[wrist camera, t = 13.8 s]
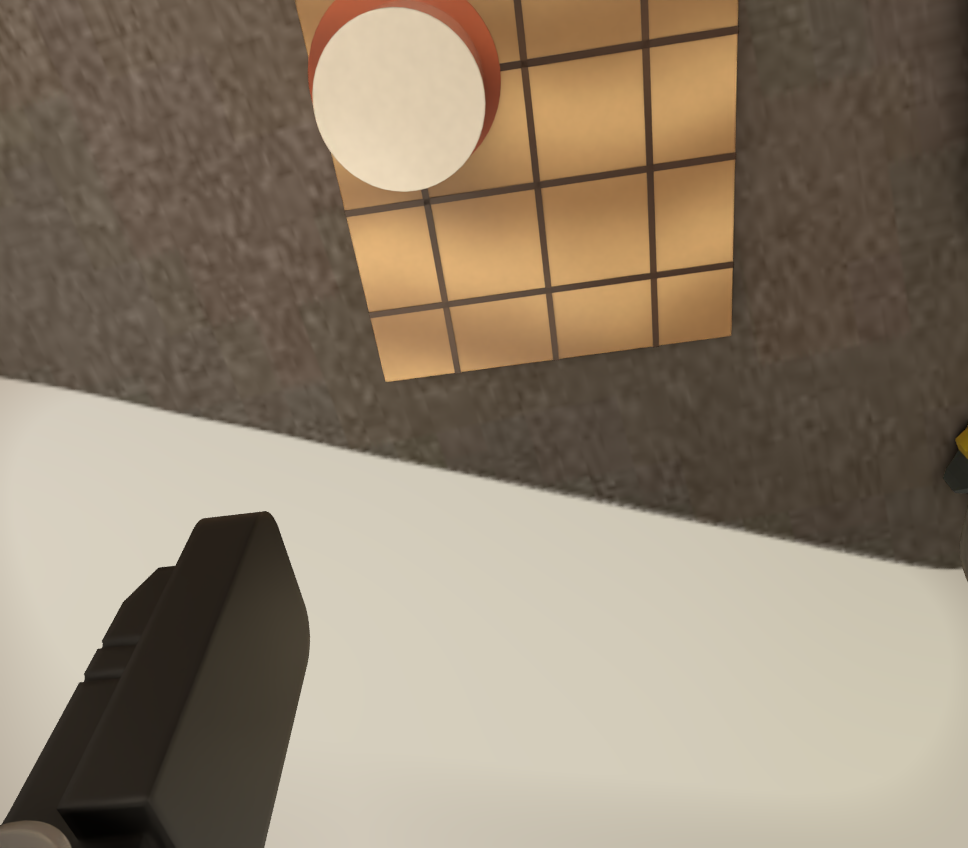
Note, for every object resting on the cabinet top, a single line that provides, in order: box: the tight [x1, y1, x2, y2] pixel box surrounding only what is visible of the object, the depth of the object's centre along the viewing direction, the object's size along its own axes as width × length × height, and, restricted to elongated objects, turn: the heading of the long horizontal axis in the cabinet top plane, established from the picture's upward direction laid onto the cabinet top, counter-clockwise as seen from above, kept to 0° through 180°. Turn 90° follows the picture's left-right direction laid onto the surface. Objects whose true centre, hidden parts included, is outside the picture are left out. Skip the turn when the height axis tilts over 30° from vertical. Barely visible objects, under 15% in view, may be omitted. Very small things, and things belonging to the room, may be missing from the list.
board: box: [295, 0, 739, 382], centre depth 28 cm, size 14×14×1 cm
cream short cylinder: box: [312, 0, 486, 192], centre depth 24 cm, size 5×5×4 cm
